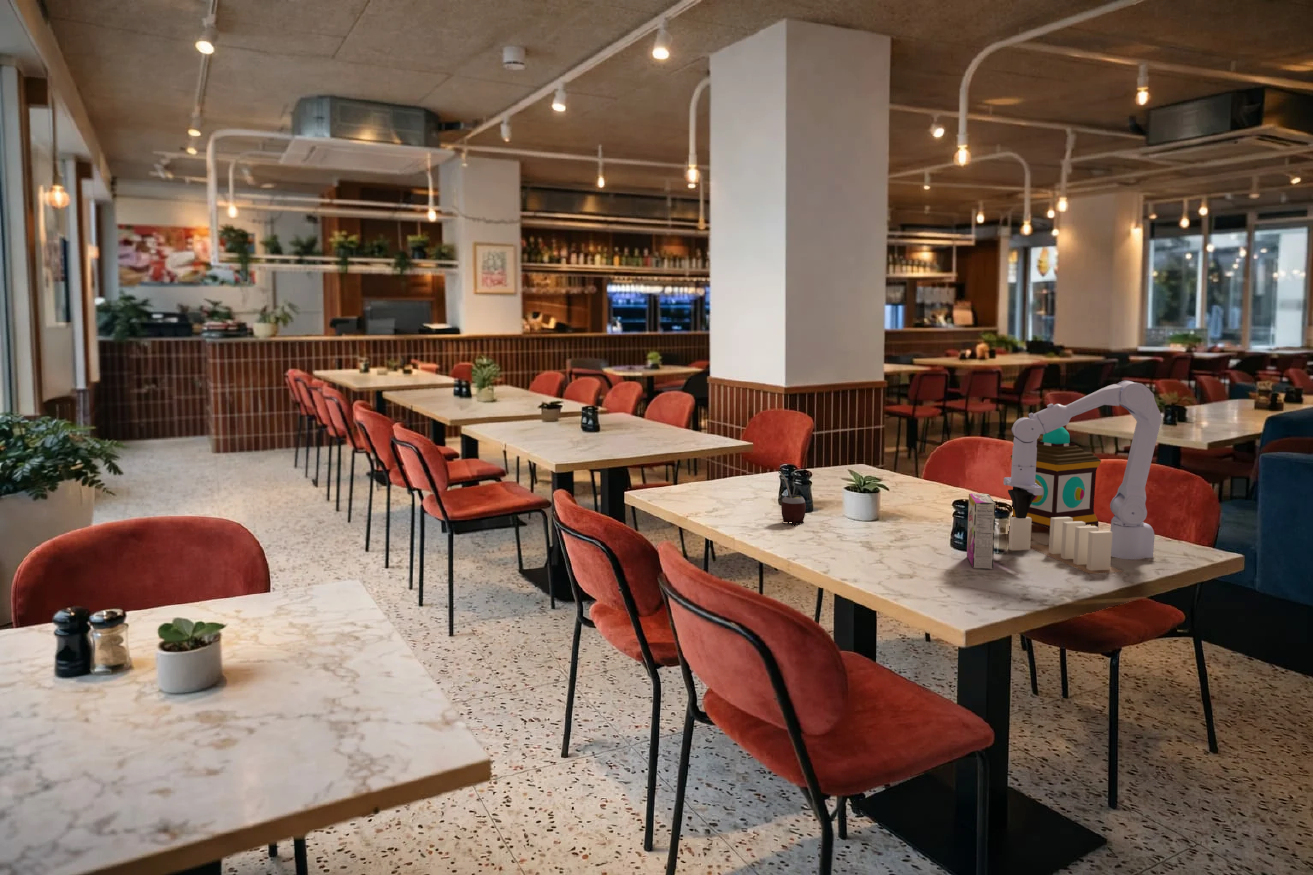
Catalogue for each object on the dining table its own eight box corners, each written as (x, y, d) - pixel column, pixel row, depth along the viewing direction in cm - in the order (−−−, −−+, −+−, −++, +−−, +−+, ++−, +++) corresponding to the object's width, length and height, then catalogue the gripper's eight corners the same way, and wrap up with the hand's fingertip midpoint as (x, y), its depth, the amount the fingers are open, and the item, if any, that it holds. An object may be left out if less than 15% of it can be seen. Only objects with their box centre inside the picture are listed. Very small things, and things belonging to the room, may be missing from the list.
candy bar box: (965, 556, 223) (968, 492, 220) (986, 557, 222) (989, 493, 220) (971, 569, 212) (974, 501, 210) (993, 570, 211) (997, 502, 209)
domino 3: (1060, 557, 219) (1062, 521, 218) (1079, 556, 220) (1081, 521, 218) (1064, 559, 217) (1066, 523, 216) (1083, 558, 218) (1085, 522, 217)
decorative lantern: (1053, 541, 238) (1060, 430, 234) (997, 525, 256) (1002, 422, 252) (1106, 533, 246) (1113, 426, 242) (1048, 519, 264) (1054, 419, 260)
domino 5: (1086, 568, 209) (1088, 531, 208) (1105, 567, 210) (1108, 530, 209) (1090, 570, 207) (1093, 533, 206) (1110, 569, 208) (1112, 532, 207)
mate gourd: (807, 526, 256) (808, 475, 254) (779, 526, 256) (780, 475, 254) (803, 520, 263) (804, 470, 261) (776, 520, 263) (777, 470, 261)
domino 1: (1008, 551, 227) (1010, 517, 226) (1026, 550, 228) (1028, 516, 227) (1011, 553, 226) (1013, 518, 225) (1029, 552, 227) (1031, 518, 225)
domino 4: (1073, 562, 214) (1075, 526, 213) (1092, 562, 215) (1094, 525, 213) (1077, 564, 212) (1079, 528, 211) (1096, 563, 213) (1098, 527, 212)
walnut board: (1056, 547, 232) (1056, 544, 232) (1123, 575, 206) (1124, 571, 206) (1025, 548, 230) (1025, 545, 230) (1088, 576, 205) (1088, 573, 205)
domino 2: (1048, 552, 224) (1050, 517, 222) (1066, 551, 224) (1068, 516, 223) (1052, 553, 222) (1054, 518, 221) (1070, 553, 223) (1072, 518, 222)
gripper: (993, 461, 230) (991, 512, 232) (1025, 470, 216) (1022, 524, 218) (1018, 460, 232) (1016, 511, 233) (1051, 469, 217) (1048, 523, 219)
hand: (1020, 517), depth 226 cm, fingers closed
